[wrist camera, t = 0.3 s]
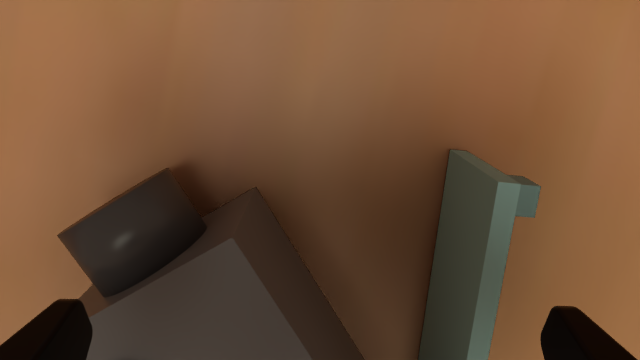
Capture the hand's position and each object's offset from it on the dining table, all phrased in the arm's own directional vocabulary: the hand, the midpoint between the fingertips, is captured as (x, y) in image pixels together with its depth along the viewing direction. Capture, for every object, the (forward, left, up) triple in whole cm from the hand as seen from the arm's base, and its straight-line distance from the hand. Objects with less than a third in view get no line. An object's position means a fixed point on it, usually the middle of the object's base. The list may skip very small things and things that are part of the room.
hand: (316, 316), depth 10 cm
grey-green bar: (-9, -2, -14) cm, 17 cm away
